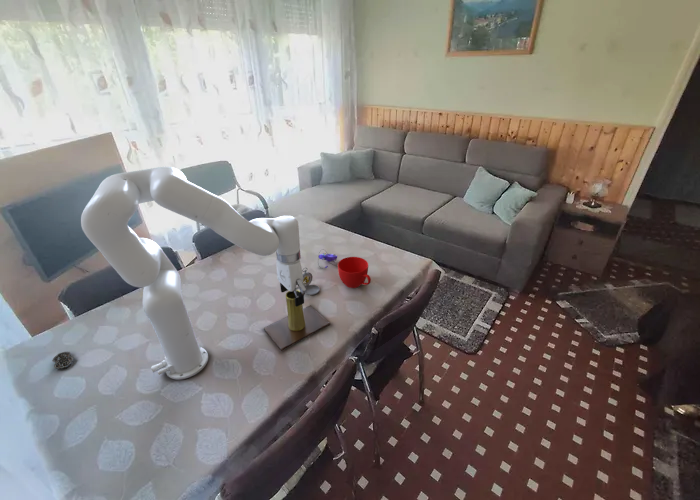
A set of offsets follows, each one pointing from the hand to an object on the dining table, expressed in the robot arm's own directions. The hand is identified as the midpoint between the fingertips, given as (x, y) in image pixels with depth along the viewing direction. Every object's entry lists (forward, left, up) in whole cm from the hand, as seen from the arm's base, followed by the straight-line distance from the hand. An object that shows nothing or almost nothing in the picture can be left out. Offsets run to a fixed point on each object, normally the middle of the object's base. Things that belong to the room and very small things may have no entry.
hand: (292, 297), depth 111 cm
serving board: (0, 0, -14) cm, 14 cm away
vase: (0, 0, -13) cm, 13 cm away
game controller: (+34, +27, -14) cm, 46 cm away
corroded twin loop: (-67, +34, -14) cm, 76 cm away
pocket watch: (+16, +16, -14) cm, 27 cm away
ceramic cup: (+33, +6, -14) cm, 37 cm away
